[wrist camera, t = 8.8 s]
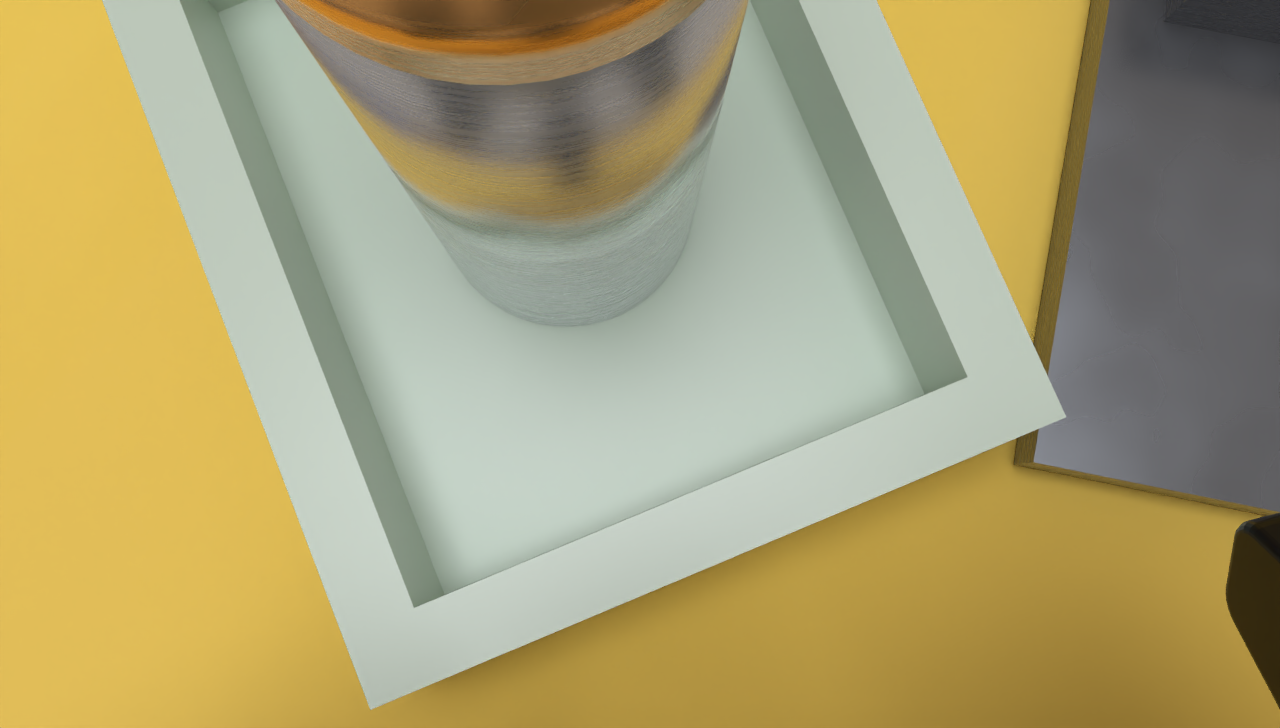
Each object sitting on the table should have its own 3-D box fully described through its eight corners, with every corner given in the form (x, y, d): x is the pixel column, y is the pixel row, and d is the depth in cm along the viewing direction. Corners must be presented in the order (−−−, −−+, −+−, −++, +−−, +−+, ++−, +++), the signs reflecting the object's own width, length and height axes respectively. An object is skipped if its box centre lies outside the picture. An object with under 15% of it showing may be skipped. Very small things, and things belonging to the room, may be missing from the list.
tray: (991, 432, 20) (1066, 416, 16) (418, 673, 19) (370, 709, 16) (705, -207, 21) (718, -347, 18) (162, 5, 21) (64, -97, 17)
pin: (745, 192, 19) (948, -317, 7) (576, 379, 19) (499, 165, 7) (557, 29, 20) (460, -718, 8) (386, 210, 19) (1, -277, 7)
